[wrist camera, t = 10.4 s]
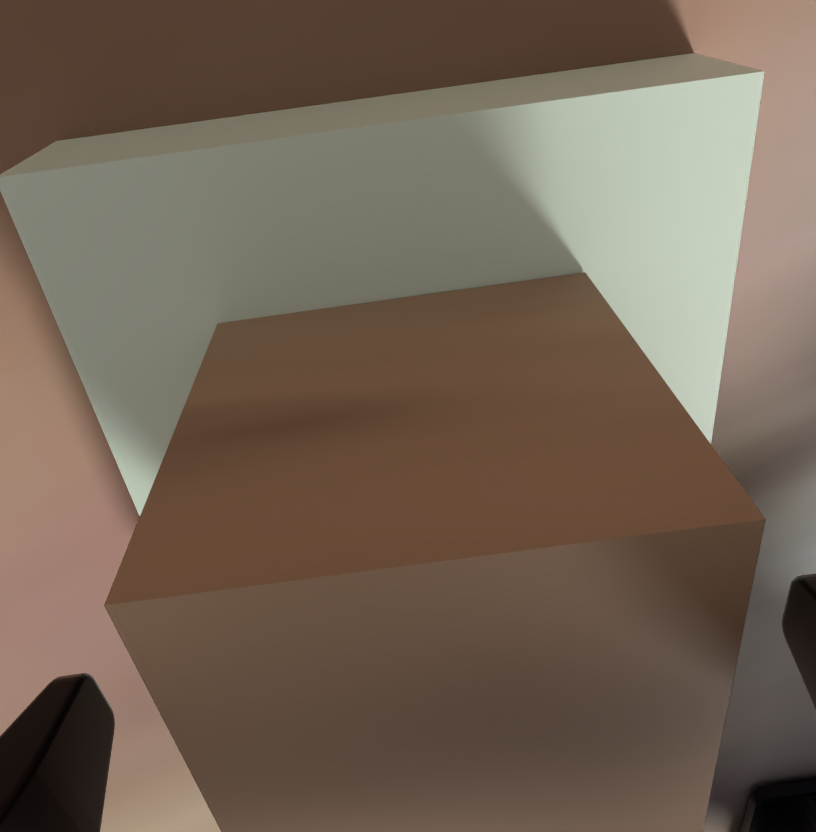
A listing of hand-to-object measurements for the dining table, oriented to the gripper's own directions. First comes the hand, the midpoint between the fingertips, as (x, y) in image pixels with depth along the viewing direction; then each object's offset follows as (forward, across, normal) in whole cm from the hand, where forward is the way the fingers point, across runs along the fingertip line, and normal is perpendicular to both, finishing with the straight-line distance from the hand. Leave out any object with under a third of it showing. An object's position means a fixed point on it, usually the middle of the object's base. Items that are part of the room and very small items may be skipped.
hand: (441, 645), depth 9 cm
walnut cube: (+5, 0, 0) cm, 5 cm away
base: (+8, 0, 0) cm, 8 cm away
